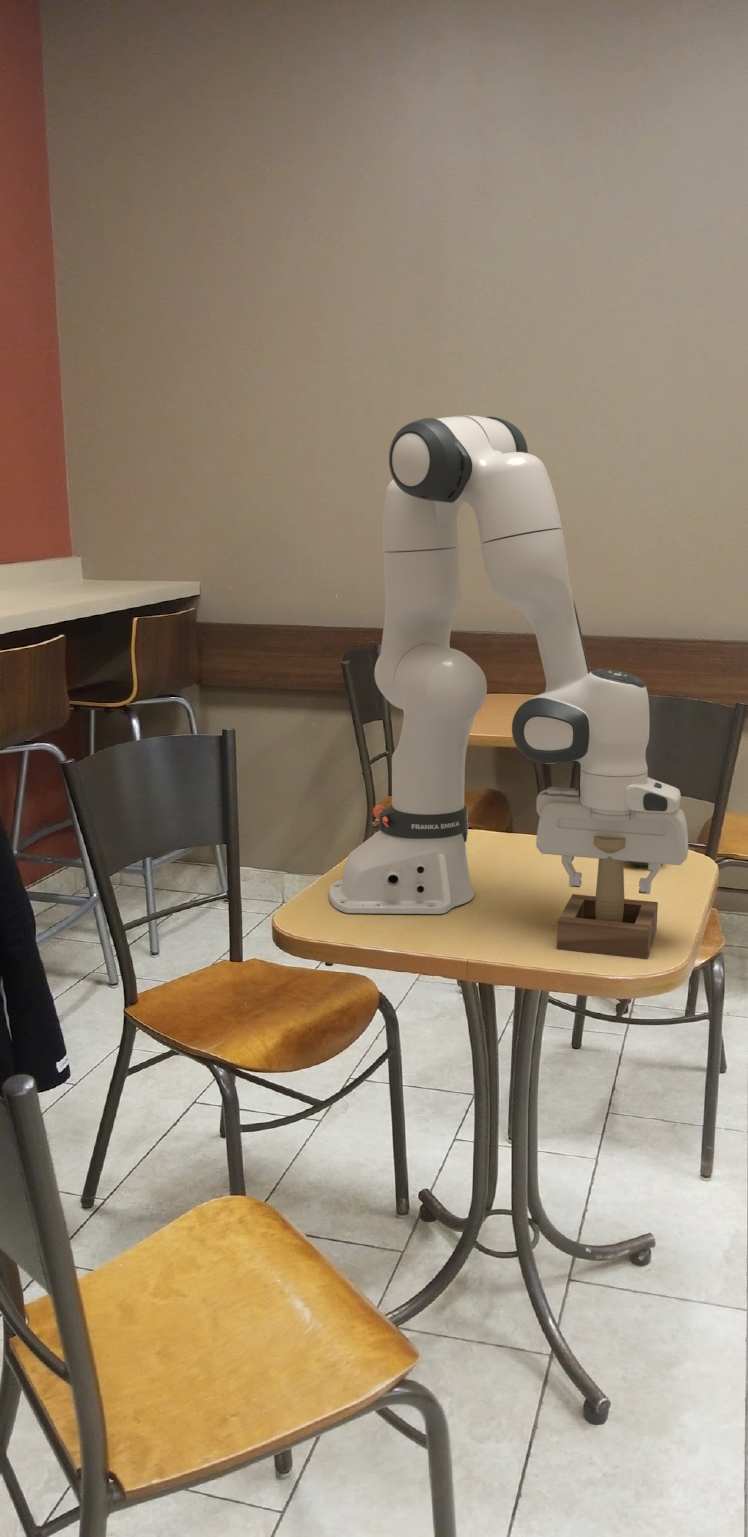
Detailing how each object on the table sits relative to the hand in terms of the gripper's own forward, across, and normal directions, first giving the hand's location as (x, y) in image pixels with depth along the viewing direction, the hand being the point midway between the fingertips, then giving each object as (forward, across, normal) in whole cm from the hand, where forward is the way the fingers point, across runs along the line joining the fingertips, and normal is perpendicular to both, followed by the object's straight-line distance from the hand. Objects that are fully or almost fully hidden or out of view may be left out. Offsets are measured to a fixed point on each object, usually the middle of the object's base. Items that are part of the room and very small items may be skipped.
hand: (609, 889), depth 158 cm
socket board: (+7, 0, 0) cm, 7 cm away
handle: (+7, 0, 0) cm, 7 cm away
